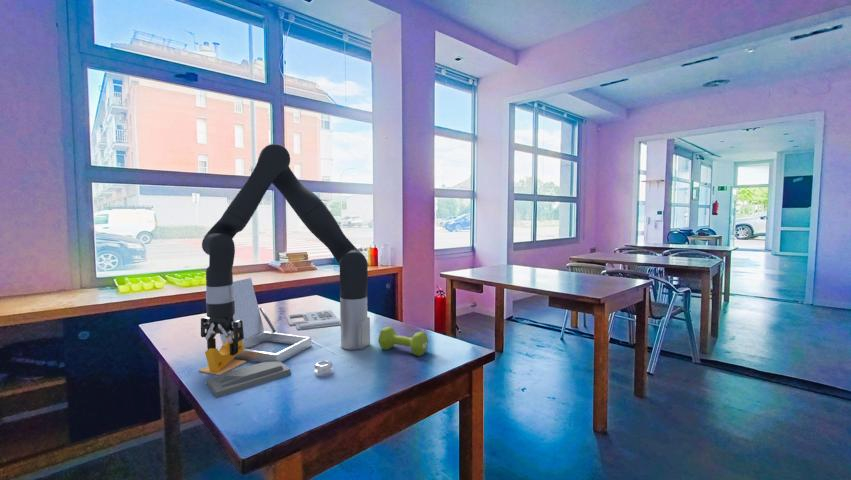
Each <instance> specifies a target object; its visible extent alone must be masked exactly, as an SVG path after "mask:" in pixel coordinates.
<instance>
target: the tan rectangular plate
mask: <svg viewBox="0 0 851 480" xmlns="http://www.w3.org/2000/svg"><path fill="white" fill-rule="evenodd" d="M246 363H247V360H243V359H237V358H233V359H232V360H231V361H230V362H229V363H227V364H226V365H225V366H224V367H223V368H222V369H221V370H219V371H218V372H211V371H210V369H209V365H206V366H205V367H203V368H201V369H199V370H198V372H200V373H201V372H202V373H205V374H211V375H217V376H219V375H221V374H223V373H226V372H230V371H233V370H235V369H236V368H238V367H240V366H242V365H244V364H246Z"/></svg>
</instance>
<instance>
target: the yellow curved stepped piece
mask: <svg viewBox="0 0 851 480" xmlns="http://www.w3.org/2000/svg"><path fill="white" fill-rule="evenodd" d="M238 337H239V333H238ZM232 338H233V336H232ZM233 339H234V338H233ZM242 341H243V340H240V341H238V353H237V354H235V355H233V356H232V355H230V342H229V340H228V341H227V342H226V343H225V344H223V345H221V347H220V349H218V348H216V349H214V348H209V349H208V348H207V350H205V351H204V354H205V358H206V361H207V366H209V369H210V371H211V372H218V371H219V370H221V369H222V368H223V367H224V366H225V365H226V364H227V363H229V362H230V361H231V360H232V359H235V358H234V357H235V356H236V355H238V354H239V353H240V352H241V351H242V350H243V349H244V347H243V343H242Z"/></svg>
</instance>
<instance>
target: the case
mask: <svg viewBox="0 0 851 480" xmlns="http://www.w3.org/2000/svg"><path fill="white" fill-rule="evenodd" d="M266 341H267V342H272V343H273V342H274V343H280V344H289V345H290V346H288V347H286V348H284V349H282V350H280V351H278V352H276V353H275V352H268V351H260V350H255V349H249V348H251V347H254V346H256V345H259V344H261V343H263V342H266ZM242 343H243V347H244V349H243V350H242V351H241V352H240V353H239V354H238V355H236V356H235V357H234V358H233V359H238V360H244V361H251V362H259V363H262V362H273V361H277V360H278V361H280V362H281V363H283V362H284V361H286V360H288V359H290V358H291V357H293V356H295V355H297V354H299V353H301V352H303V351H304V350H306V349H308V348H310V347H312V337H310V336H303V335H297V334H290V333H281V332H279V331H276V332H273V331H265V330H264V331H263V332H261V333H258V334H256V335H253V336H251V337H248V338H246V339H243V340H242Z"/></svg>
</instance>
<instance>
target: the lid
mask: <svg viewBox="0 0 851 480" xmlns="http://www.w3.org/2000/svg"><path fill="white" fill-rule="evenodd" d="M233 288H234V299H235V314H234V315H233V319H234V321H239V320H242V322H243V334H244V339H243V340H245V339H248V338H250V337H252V336H255V335H257V334H260V333H262V332H265V328H264V324H263V321H262V317H261V311H260V309H259V308H260V307H259V304H258V301H257V297H256V292H255V289H254V284H253V280H252V277H248V278H244V279H239V280H235V281H234V280H233ZM230 332H231V330H230ZM230 332H229V333H230ZM219 336H220V340H221V344H222V345H223V344H225V343H226V342H227V341H228V338H226V337H225V336H224V334H223V335H222V334H219ZM222 345H221V346H222Z"/></svg>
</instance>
